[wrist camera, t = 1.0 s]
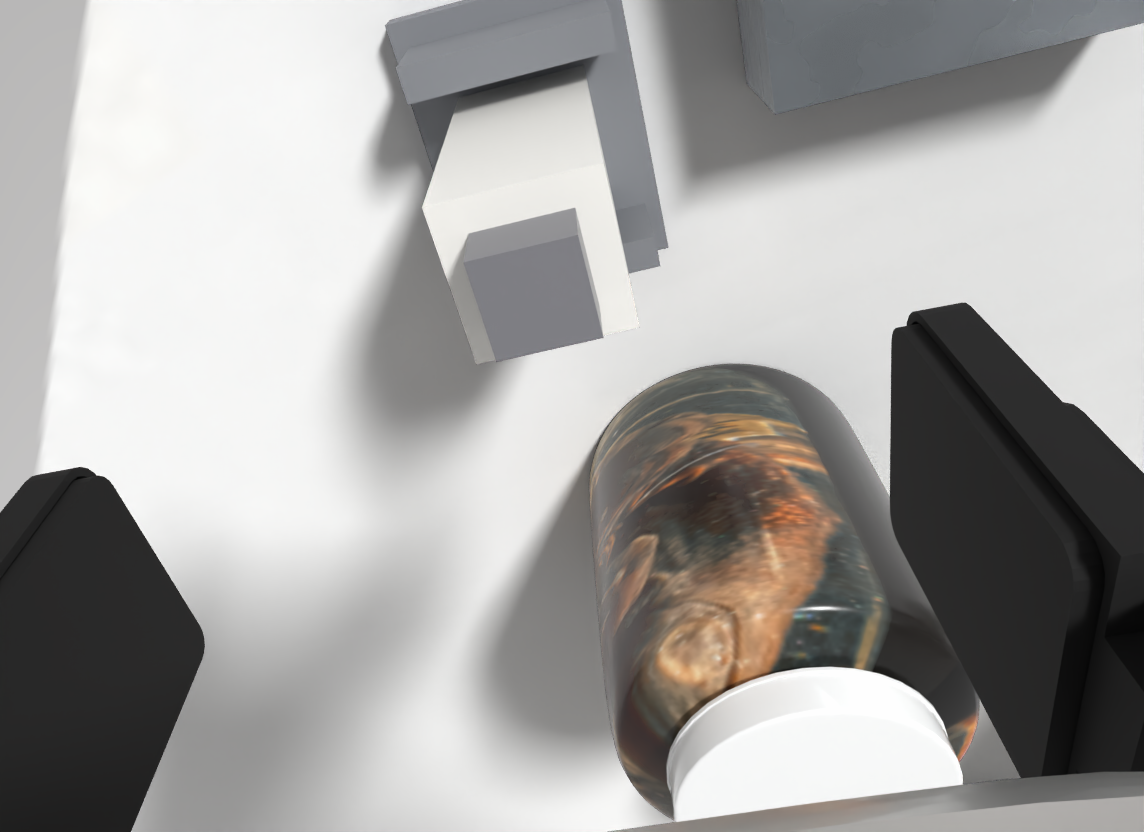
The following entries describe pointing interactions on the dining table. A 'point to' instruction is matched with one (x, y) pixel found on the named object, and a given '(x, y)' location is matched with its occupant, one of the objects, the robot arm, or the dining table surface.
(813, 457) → the jar
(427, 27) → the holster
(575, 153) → the plug
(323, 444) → the dining table surface
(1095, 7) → the port block
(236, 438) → the dining table surface
